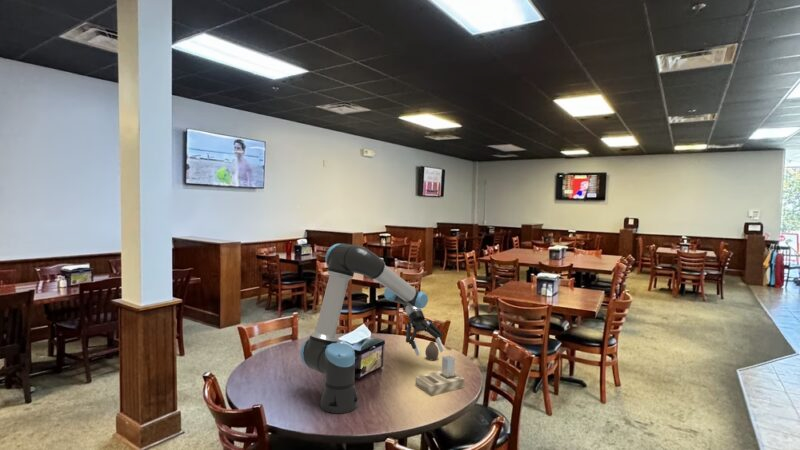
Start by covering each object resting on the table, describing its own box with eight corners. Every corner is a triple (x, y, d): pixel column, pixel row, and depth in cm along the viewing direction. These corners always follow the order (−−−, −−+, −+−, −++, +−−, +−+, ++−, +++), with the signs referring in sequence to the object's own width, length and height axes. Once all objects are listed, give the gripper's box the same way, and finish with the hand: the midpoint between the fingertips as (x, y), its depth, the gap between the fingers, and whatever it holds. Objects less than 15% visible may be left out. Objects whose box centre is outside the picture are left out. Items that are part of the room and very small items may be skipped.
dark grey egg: (427, 361, 219) (428, 345, 219) (423, 356, 226) (423, 340, 225) (440, 360, 221) (440, 344, 220) (435, 356, 227) (436, 339, 227)
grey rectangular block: (446, 386, 190) (447, 359, 189) (441, 383, 193) (442, 357, 192) (454, 384, 192) (454, 358, 191) (448, 381, 195) (449, 355, 195)
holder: (430, 395, 180) (431, 386, 180) (415, 385, 191) (415, 376, 190) (464, 387, 190) (464, 378, 189) (447, 377, 200) (448, 369, 200)
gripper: (396, 311, 204) (411, 352, 192) (438, 307, 217) (455, 345, 205) (390, 320, 209) (404, 360, 197) (432, 315, 222) (448, 353, 209)
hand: (430, 352), depth 201 cm, fingers open, 13 cm apart
